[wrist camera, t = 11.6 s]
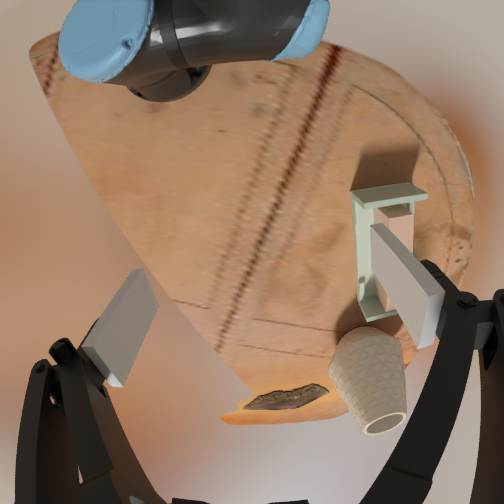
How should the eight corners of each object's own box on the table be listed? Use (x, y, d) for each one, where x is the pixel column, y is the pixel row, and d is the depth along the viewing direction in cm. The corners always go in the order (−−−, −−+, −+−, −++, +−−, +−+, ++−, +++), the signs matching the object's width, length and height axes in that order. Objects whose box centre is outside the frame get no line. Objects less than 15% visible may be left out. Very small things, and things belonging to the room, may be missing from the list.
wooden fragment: (326, 379, 67) (327, 382, 66) (331, 398, 72) (331, 401, 71) (235, 396, 71) (234, 399, 70) (247, 413, 76) (247, 416, 75)
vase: (401, 341, 60) (434, 414, 40) (344, 375, 66) (361, 450, 45) (376, 301, 55) (416, 385, 34) (309, 342, 60) (323, 431, 40)
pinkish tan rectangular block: (372, 204, 44) (388, 218, 38) (395, 200, 44) (413, 214, 37) (374, 290, 52) (385, 311, 46) (393, 285, 51) (407, 306, 45)
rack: (349, 190, 45) (364, 203, 38) (407, 182, 43) (428, 193, 37) (356, 299, 55) (366, 322, 48) (405, 287, 53) (419, 308, 47)
